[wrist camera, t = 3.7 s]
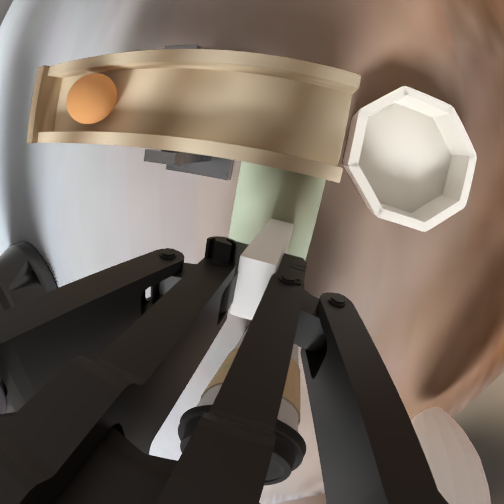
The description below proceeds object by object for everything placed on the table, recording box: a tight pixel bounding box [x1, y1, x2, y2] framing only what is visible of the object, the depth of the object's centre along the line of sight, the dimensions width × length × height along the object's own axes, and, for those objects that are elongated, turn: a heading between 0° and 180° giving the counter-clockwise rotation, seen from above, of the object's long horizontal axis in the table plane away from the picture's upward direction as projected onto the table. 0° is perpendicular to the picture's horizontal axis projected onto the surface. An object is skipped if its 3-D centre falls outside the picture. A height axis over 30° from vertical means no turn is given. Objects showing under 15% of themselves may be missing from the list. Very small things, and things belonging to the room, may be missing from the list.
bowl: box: [343, 86, 477, 232], centre depth 18 cm, size 10×10×4 cm
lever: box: [27, 49, 361, 260], centre depth 16 cm, size 22×13×3 cm, turn 79°
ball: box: [66, 73, 117, 124], centre depth 14 cm, size 4×4×4 cm
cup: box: [411, 407, 491, 504], centre depth 18 cm, size 10×10×22 cm
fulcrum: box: [144, 45, 234, 180], centre depth 20 cm, size 14×11×7 cm
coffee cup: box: [178, 328, 306, 485], centre depth 22 cm, size 9×9×15 cm
